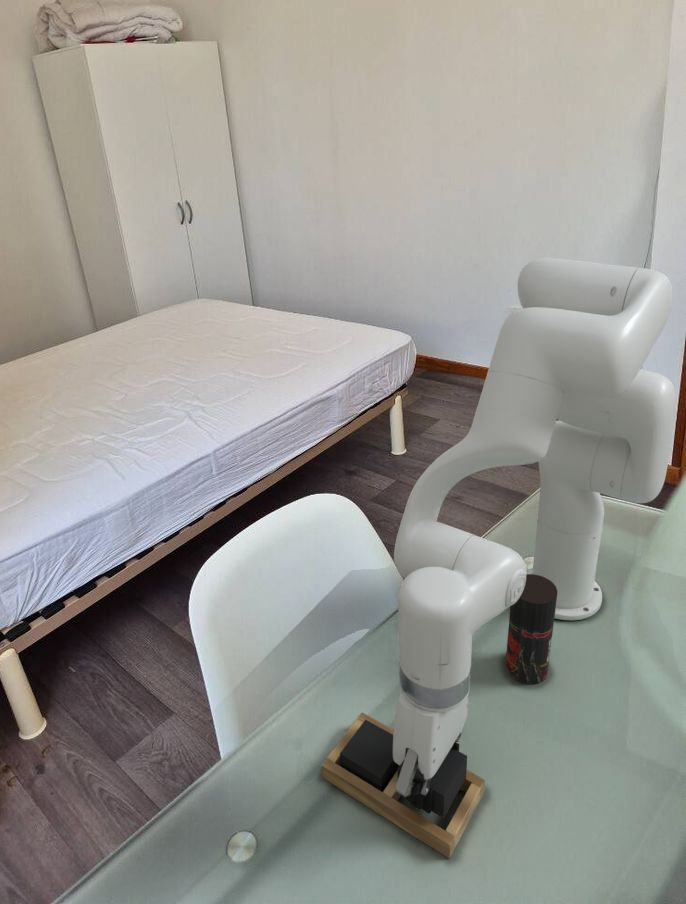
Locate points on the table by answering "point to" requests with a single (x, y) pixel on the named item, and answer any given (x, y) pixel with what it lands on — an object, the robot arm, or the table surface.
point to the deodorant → (531, 631)
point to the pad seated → (370, 755)
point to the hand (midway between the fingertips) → (432, 781)
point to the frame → (388, 799)
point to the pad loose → (446, 780)
